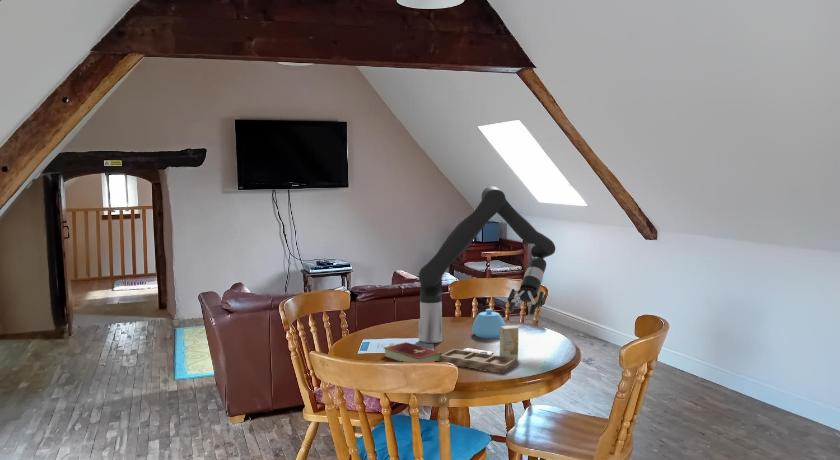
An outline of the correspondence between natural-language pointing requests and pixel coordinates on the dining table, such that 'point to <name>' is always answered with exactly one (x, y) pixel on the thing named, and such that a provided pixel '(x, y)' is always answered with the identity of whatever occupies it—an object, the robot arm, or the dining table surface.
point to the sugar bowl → (488, 324)
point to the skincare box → (509, 341)
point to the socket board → (479, 360)
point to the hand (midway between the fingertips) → (520, 313)
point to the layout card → (478, 351)
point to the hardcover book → (411, 353)
